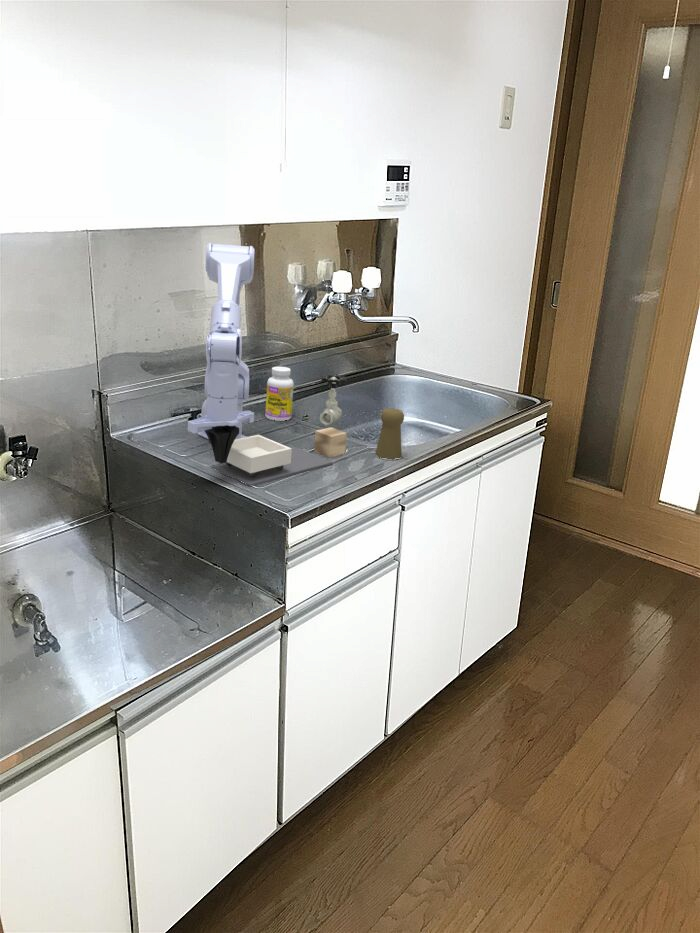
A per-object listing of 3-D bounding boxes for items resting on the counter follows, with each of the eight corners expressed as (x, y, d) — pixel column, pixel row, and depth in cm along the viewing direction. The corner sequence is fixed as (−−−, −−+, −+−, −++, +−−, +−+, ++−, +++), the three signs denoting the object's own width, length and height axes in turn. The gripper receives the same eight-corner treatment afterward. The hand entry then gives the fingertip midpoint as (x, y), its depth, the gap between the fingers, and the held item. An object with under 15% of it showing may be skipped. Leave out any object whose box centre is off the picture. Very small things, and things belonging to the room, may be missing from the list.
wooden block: (313, 451, 176) (315, 430, 174) (329, 447, 180) (331, 427, 178) (329, 458, 173) (331, 436, 171) (345, 454, 176) (346, 433, 175)
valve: (313, 424, 196) (316, 377, 191) (323, 418, 201) (326, 372, 197) (337, 429, 194) (341, 382, 189) (346, 422, 199) (350, 376, 195)
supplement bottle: (262, 419, 195) (264, 369, 191) (269, 413, 202) (271, 364, 197) (288, 423, 195) (291, 373, 190) (294, 416, 201) (297, 367, 196)
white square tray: (217, 465, 160) (218, 443, 159) (257, 455, 168) (258, 434, 166) (250, 480, 154) (251, 458, 152) (290, 470, 161) (291, 448, 159)
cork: (401, 453, 180) (407, 407, 176) (401, 461, 174) (406, 414, 171) (376, 450, 181) (380, 404, 177) (374, 458, 175) (378, 411, 171)
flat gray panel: (212, 468, 161) (212, 466, 160) (295, 448, 177) (295, 446, 176) (249, 486, 153) (249, 484, 153) (332, 464, 169) (332, 462, 169)
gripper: (203, 405, 141) (202, 474, 146) (265, 395, 151) (262, 460, 156) (181, 396, 146) (180, 463, 151) (242, 386, 156) (240, 450, 161)
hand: (220, 461), depth 154 cm, fingers closed
